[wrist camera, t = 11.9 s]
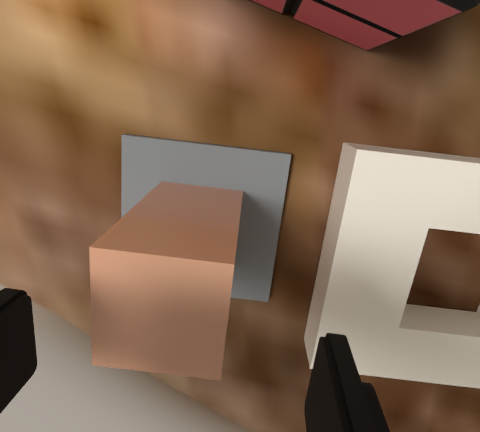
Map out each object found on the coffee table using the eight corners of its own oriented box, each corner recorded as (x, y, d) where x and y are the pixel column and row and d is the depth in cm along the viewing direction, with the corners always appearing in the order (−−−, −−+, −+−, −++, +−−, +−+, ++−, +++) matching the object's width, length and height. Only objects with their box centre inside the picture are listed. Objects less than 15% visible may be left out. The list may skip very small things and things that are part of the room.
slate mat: (290, 153, 21) (291, 154, 21) (268, 297, 25) (268, 302, 24) (125, 133, 21) (121, 134, 21) (124, 280, 25) (121, 284, 24)
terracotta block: (243, 191, 22) (234, 264, 12) (234, 264, 23) (220, 380, 14) (161, 181, 22) (89, 247, 12) (158, 255, 23) (92, 365, 14)
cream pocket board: (611, 173, 21) (667, 185, 18) (525, 364, 26) (559, 397, 23) (343, 142, 21) (357, 149, 18) (303, 338, 26) (310, 368, 23)
